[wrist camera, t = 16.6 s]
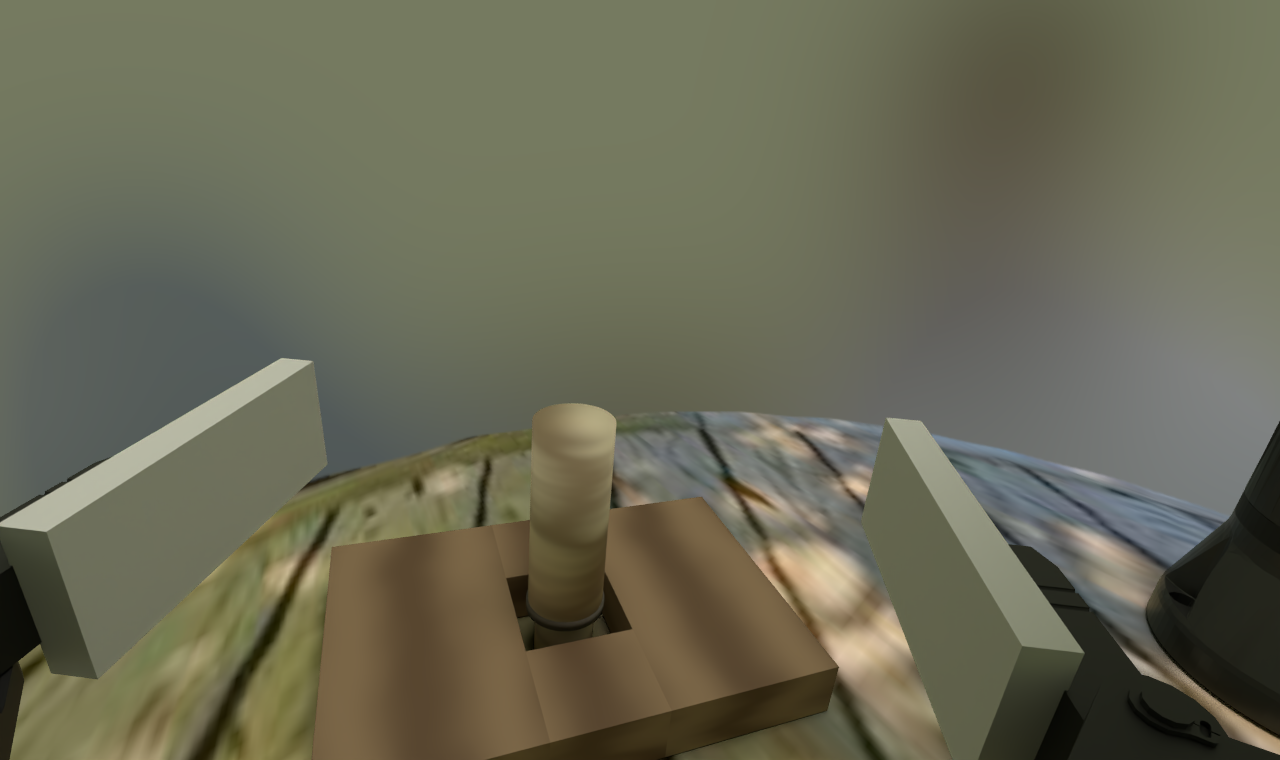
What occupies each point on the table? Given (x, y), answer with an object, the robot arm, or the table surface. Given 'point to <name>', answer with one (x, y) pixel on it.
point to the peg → (568, 520)
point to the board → (559, 648)
